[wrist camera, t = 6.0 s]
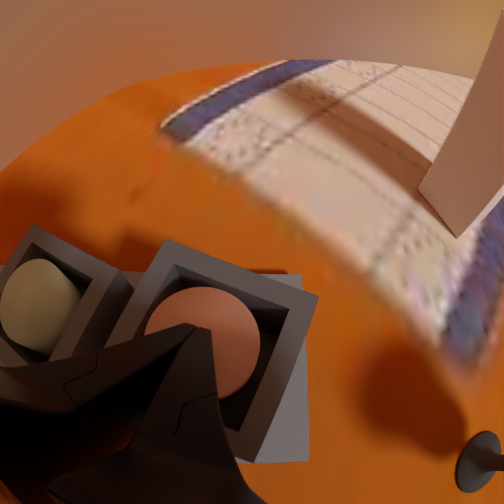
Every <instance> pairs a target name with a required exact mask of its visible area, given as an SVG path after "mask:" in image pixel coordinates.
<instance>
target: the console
mask: <svg viewBox="0 0 504 504" xmlns="http://www.w3.org/2000/svg"><path fill="white" fill-rule="evenodd" d="M34 259H45V260H48V261H50V262H51V263H53V264H54V265H55V266H56V267H57V268H58V269H59V270H60V271H61V272H62V273H63V274H64V275H65V276H66V277H67V278H68V279H69V280H70V281H71V282H73V283H74V284H75V285H76V286H77V287H78V288H79V289H80V290H81V291H82V292H83V293H85V294H84V295H83V297H82V299H81V300H80V302H79V304H78V306H77V307H76V309H75V311H74V313H73V315H72V316H71V318H70V320H69V322H68V324H67V326H66V328H65V330H64V331H63V333H62V335H61V337H60V339H59V341H58V343H57V345H56V347H55V349H54V351H53V353H52V355H51V357H48V356H45V355H43V354H40V353H38V352H36V351H34V350H31V349H29V348H27V347H25V346H23V345H20V344H18V343H16V342H14V341H13V340H11V339H10V338H9V337H8V336H7V334H6V333H5V331H4V329H3V327H2V324H1V320H0V366H3V367H17V366H24V365H30V364H37V363H43V362H49V361H54V360H60V359H65V358H69V357H73V356H77V355H81V354H85V353H89V352H92V351H98V350H99V349H102V348H106V347H109V346H112V345H116V344H119V343H122V342H125V341H129V340H132V339H135V338H138V337H141V336H144V335H145V330H146V326H147V323H148V321H149V319H150V317H151V315H152V314H153V312H154V311H155V309H156V308H157V307H158V306H159V305H160V304H161V303H162V302H163V301H164V300H165V299H167V298H168V297H169V296H171V295H173V294H175V293H177V292H179V291H181V290H185V289H188V288H193V287H211V288H216V289H220V290H223V291H225V292H228V293H230V294H232V295H233V296H235V297H236V298H238V299H239V300H240V301H241V302H242V303H243V304H244V305H245V306H246V307H247V308H248V309H249V311H250V312H251V313H252V315H253V317H254V319H255V321H256V324H257V326H258V330H259V335H260V350H259V356H258V360H257V364H256V368H255V372H254V375H253V378H252V380H251V382H250V383H249V385H248V386H247V387H246V388H245V390H244V391H243V392H241V393H240V394H239V395H237V396H236V397H234V398H232V399H230V400H227V401H223V402H219V406H220V412H221V417H222V421H223V424H224V428H225V431H226V434H227V437H228V440H229V443H230V446H231V448H232V451H233V454H234V456H235V459H236V462H237V463H282V462H298V461H309V416H308V380H307V356H306V333H307V331H308V328H309V325H310V322H311V319H312V316H313V313H314V310H315V307H316V304H317V301H318V298H319V296H317V295H314V294H311V293H309V292H306V291H303V289H302V276H301V274H257V273H254V272H252V271H249V270H246V269H244V268H241V267H238V266H236V265H233V264H231V263H228V262H225V261H223V260H220V259H217V258H215V257H212V256H209V255H207V254H204V253H202V252H199V251H196V250H194V249H191V248H189V247H186V246H183V245H181V244H178V243H176V242H173V241H171V240H168V239H166V240H165V241H164V243H163V245H162V246H161V248H160V249H159V251H158V253H157V254H156V256H155V258H154V259H153V261H152V262H151V264H150V266H149V267H148V269H147V271H146V272H142V271H120V270H119V269H117V268H115V267H113V266H111V265H109V264H107V263H105V262H103V261H101V260H99V259H97V258H95V257H93V256H91V255H90V254H88V253H86V252H84V251H82V250H80V249H78V248H76V247H74V246H73V245H71V244H69V243H67V242H65V241H63V240H61V239H60V238H58V237H56V236H54V235H52V234H51V233H49V232H47V231H45V230H44V229H42V228H40V227H38V226H37V225H35V224H32V225H31V227H30V228H29V230H28V231H27V233H26V234H25V235H24V237H23V238H22V240H21V241H20V243H19V244H18V246H17V247H16V249H15V251H14V252H13V254H12V255H11V257H10V259H9V260H8V262H7V263H6V265H0V300H1V296H2V293H3V290H4V287H5V285H6V283H7V281H8V280H9V278H10V276H11V275H12V274H13V273H14V272H15V270H16V269H17V268H19V267H20V266H21V265H23V264H24V263H26V262H28V261H30V260H34Z"/></svg>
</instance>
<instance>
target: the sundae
mask: <svg viewBox="0 0 504 504" xmlns="http://www.w3.org/2000/svg"><path fill="white" fill-rule="evenodd" d="M496 471H504V455H501V446H500V441H499V439H498V437H497V435H496V434H494V433H492V432H490V431H487V432H482V433H480V434H478V435H477V436H476V437H474V438H473V439H472V440H471V441H470V442H469V444H468V445H467V446H466V448H465V449H464V451H463V453H462V455H461V458H460V460H459V463H458V467H457V473H456V476H457V484H458V486H459V488H460V489H461V490H462V491H463V492H466V493H472V492H475V491H478V490H479V489H481V488H482V487H483V486H484V485H486V484H487V483H488V482H489V480H490V479H491V478H492V477H493V475H494V474H495V472H496Z"/></svg>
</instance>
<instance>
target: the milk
mask: <svg viewBox="0 0 504 504" xmlns="http://www.w3.org/2000/svg"><path fill="white" fill-rule="evenodd" d="M418 191H419V192H420V193H421V194H422V195H423V196H424V198H425V199H426V200H427V201H428V202H429V204H430V205H431V206H432V207H433V208H434V210H435V211H436V212H437V213H438V215H439V216H440V217H441V218H442V220H443V221H444V222H445V223H446V225H447V226H448V227H449V229H450V230H451V231H452V233H453V234H454V235H455V237H456V238H457V239H458V238H460V237H461V236H462V235H463V234H465V233H466V232H467V231H469V230H470V229H471V228H473V227H474V226H475V225H476V224H478V223H479V222H480V221H481V220H483V219H484V218H485V217H486V216H487V214H488V213H489V212H490V211H491V210H492V209H493V208H494V206H495V205H496V204H497V203H498V202H499V200H500V199H501V198H502V197H503V196H504V7H503V8H502V10H501V13H500V16H499V19H498V22H497V25H496V28H495V31H494V34H493V37H492V39H491V42H490V45H489V48H488V50H487V52H486V55H485V58H484V60H483V62H482V65H481V67H480V70H479V72H478V74H477V77H476V79H475V81H474V83H473V86H472V88H471V90H470V92H469V94H468V97H467V99H466V101H465V103H464V105H463V107H462V109H461V111H460V113H459V115H458V117H457V119H456V121H455V123H454V125H453V127H452V129H451V131H450V133H449V135H448V136H447V138H446V140H445V142H444V144H443V146H442V148H441V149H440V151H439V153H438V155H437V157H436V158H435V160H434V162H433V164H432V165H431V167H430V169H429V171H428V172H427V174H426V176H425V177H424V179H423V181H422V182H421V184H420V186H419V187H418Z"/></svg>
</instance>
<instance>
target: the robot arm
mask: <svg viewBox="0 0 504 504" xmlns="http://www.w3.org/2000/svg"><path fill="white" fill-rule="evenodd" d="M0 504H267V503H266V502H265V501H264V500H262V499H261V498H260V497H259V496H258V495H257V494H256V493H255V492H254V491H252V490H251V489H250V487H249V486H248V485H247V483H246V482H245V480H244V478H243V476H242V474H241V472H240V469H239V467H238V464H237V462H236V459H235V456H234V454H233V451H232V448H231V446H230V443H229V440H228V437H227V434H226V431H225V428H224V424H223V421H222V417H221V412H220V406H219V398H218V391H217V382H216V372H215V362H214V352H213V342H212V331H211V330H210V329H207V328H203V327H197V326H196V325H193V324H189V323H181V324H178V325H175V326H172V327H169V328H166V329H163V330H160V331H157V332H154V333H151V334H148V335H145V336H141V337H138V338H135V339H132V340H129V341H125V342H122V343H119V344H116V345H112V346H109V347H106V348H102V349H99V350H98V351H92V352H89V353H85V354H81V355H77V356H73V357H69V358H65V359H60V360H54V361H49V362H43V363H37V364H30V365H24V366H17V367H3V366H0Z"/></svg>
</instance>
